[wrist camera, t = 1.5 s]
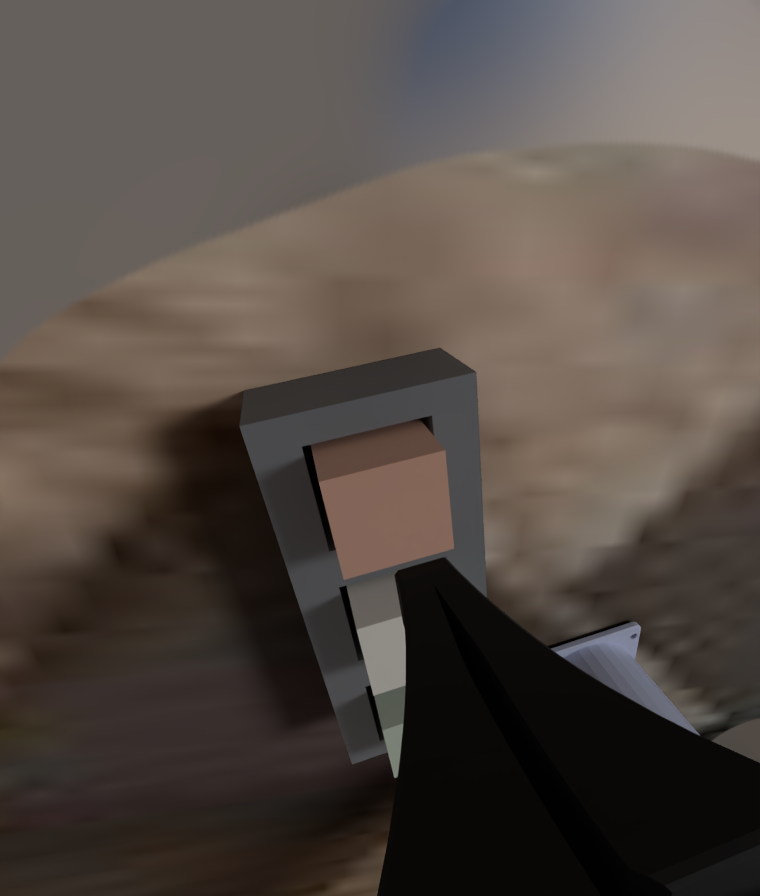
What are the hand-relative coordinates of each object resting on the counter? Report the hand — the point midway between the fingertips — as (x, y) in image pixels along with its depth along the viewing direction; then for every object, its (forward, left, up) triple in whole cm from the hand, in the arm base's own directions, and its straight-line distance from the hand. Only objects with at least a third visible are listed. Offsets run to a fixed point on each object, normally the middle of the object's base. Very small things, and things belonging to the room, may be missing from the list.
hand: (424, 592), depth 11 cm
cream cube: (-6, 0, -7) cm, 10 cm away
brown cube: (0, 0, -7) cm, 7 cm away
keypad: (-7, 0, -9) cm, 11 cm away
